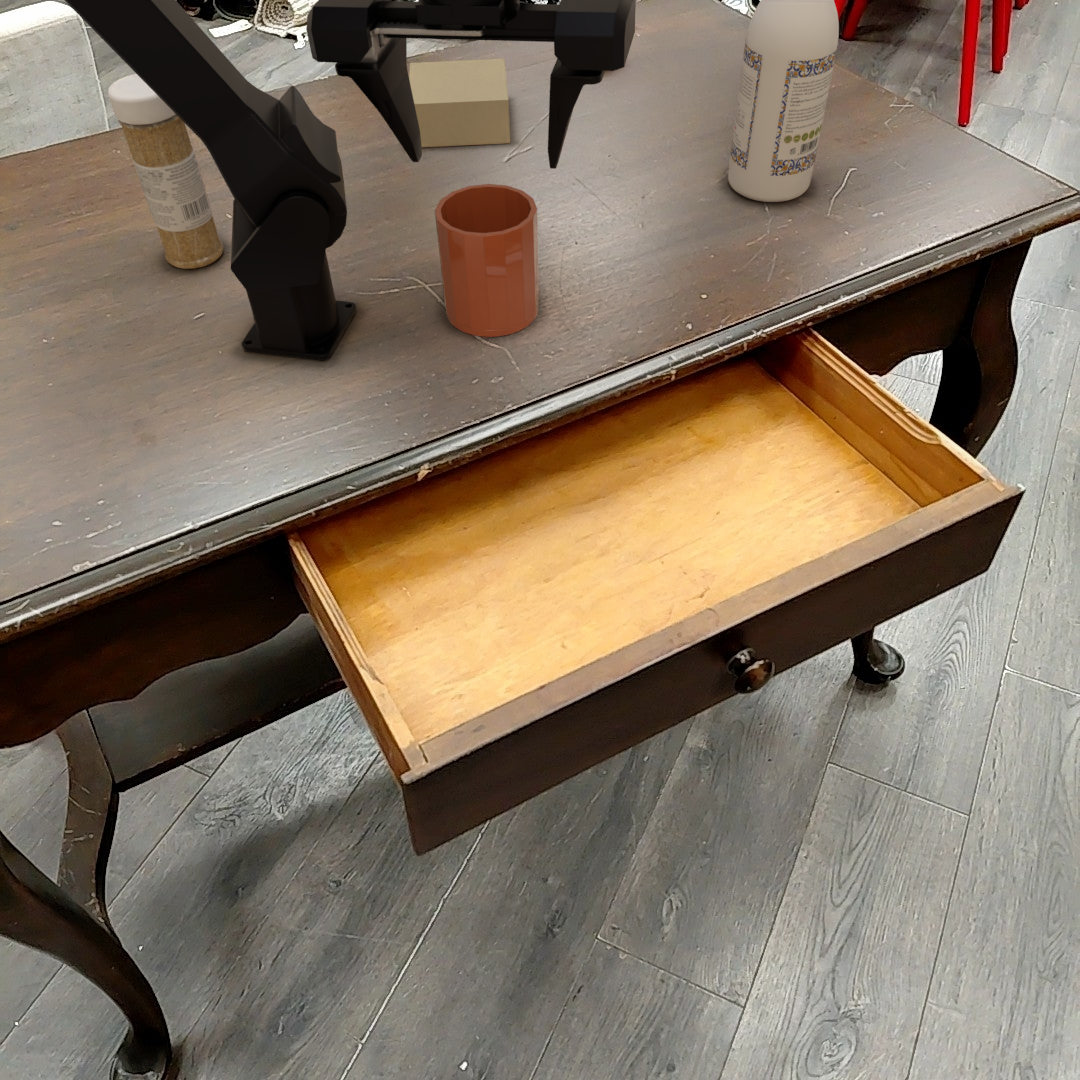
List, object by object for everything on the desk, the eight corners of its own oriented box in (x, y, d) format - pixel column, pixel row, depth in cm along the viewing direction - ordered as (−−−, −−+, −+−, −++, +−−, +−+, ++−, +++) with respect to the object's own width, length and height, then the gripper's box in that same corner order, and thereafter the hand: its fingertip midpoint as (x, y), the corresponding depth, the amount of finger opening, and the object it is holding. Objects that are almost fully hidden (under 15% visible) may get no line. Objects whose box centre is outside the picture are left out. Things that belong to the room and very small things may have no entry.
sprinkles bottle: (208, 234, 79) (157, 64, 69) (234, 257, 77) (185, 84, 67) (156, 254, 77) (95, 82, 67) (181, 278, 75) (121, 103, 65)
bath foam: (821, 176, 83) (876, -91, 69) (791, 212, 80) (843, -63, 65) (746, 158, 86) (784, -104, 71) (713, 192, 82) (746, -78, 67)
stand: (510, 143, 89) (508, 99, 86) (412, 148, 88) (406, 104, 86) (506, 100, 95) (504, 58, 92) (414, 105, 95) (409, 62, 92)
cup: (527, 341, 68) (524, 239, 62) (435, 331, 69) (423, 230, 64) (546, 288, 73) (545, 188, 67) (459, 279, 74) (450, 180, 68)
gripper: (650, -160, 55) (641, 112, 67) (341, -157, 58) (384, 102, 70) (625, -99, 48) (620, 193, 60) (274, -100, 51) (334, 179, 63)
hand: (485, 162), depth 63 cm, fingers open, 9 cm apart
